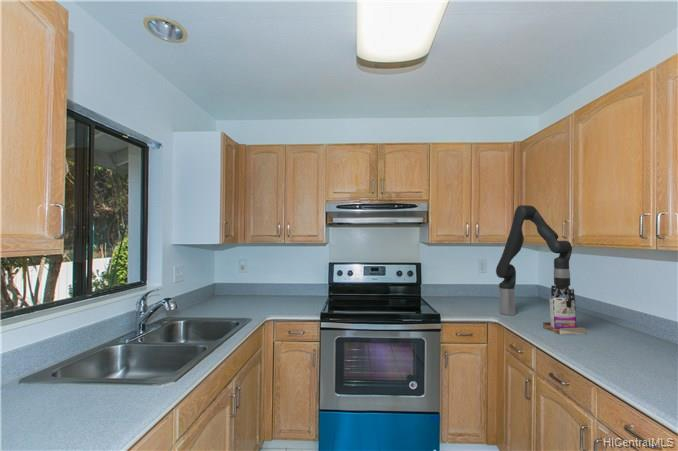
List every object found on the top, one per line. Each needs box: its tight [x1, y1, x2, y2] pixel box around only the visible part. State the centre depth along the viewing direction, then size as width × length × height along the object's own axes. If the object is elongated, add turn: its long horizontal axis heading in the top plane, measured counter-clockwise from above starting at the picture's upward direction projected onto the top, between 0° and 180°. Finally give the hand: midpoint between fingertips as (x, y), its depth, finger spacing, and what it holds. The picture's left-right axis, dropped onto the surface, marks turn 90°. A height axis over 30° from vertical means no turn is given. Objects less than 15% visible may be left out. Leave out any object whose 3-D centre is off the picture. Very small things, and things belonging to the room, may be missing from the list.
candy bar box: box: [549, 297, 578, 329], centre depth 179 cm, size 11×5×16 cm, turn 81°
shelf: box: [542, 321, 587, 336], centre depth 178 cm, size 14×14×3 cm
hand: (562, 306), depth 179 cm, fingers open, 8 cm apart
